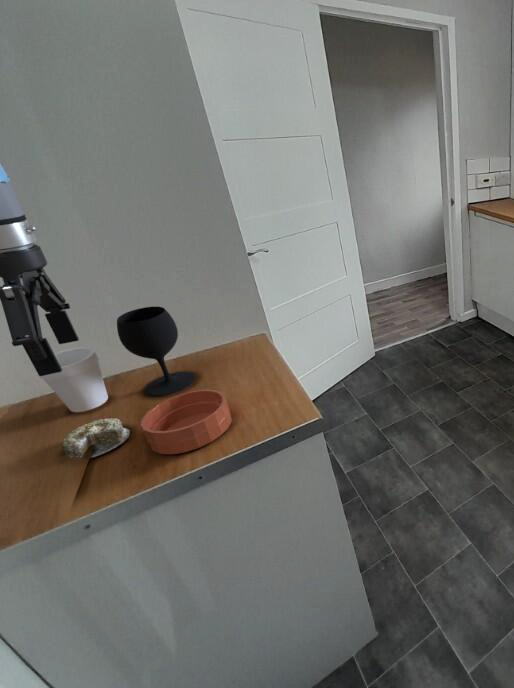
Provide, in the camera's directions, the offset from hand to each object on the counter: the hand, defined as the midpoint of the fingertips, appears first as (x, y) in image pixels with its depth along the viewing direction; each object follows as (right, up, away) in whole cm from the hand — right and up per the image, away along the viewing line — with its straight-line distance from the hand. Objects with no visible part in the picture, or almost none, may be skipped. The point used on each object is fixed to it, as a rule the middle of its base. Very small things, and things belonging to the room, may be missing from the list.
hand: (60, 356), depth 77 cm
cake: (0, -19, +7) cm, 21 cm away
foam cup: (-14, -14, +19) cm, 27 cm away
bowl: (+17, -18, +11) cm, 27 cm away
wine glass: (-1, -11, +26) cm, 29 cm away
